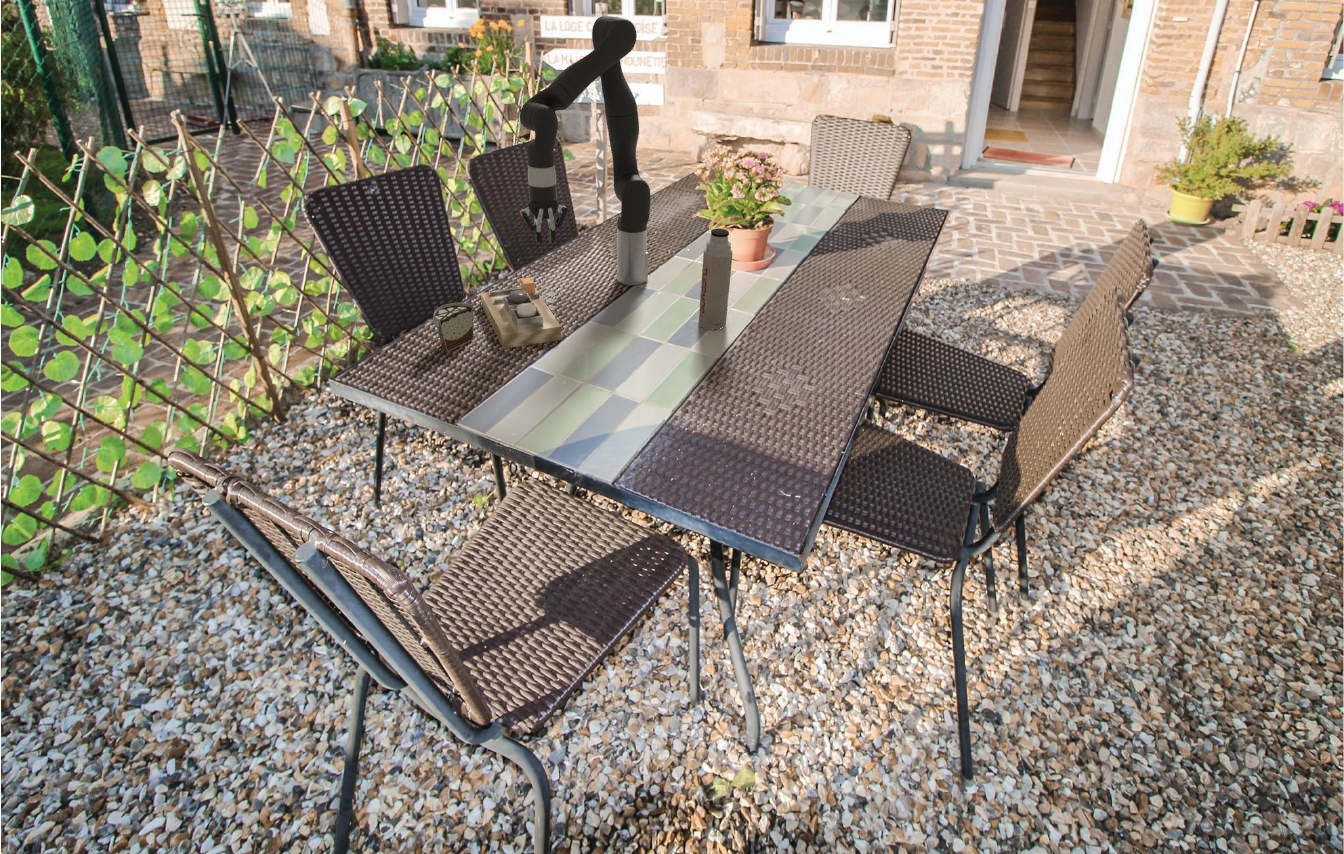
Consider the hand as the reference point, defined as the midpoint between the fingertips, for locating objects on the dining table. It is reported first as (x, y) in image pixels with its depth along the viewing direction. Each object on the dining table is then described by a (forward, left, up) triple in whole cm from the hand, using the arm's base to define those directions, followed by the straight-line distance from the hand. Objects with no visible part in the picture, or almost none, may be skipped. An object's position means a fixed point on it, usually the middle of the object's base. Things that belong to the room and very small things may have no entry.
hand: (545, 242), depth 211 cm
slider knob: (+6, 0, -15) cm, 16 cm away
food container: (+31, +15, -19) cm, 39 cm away
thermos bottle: (-41, +28, -19) cm, 53 cm away
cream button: (+11, +18, -12) cm, 24 cm away
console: (+11, +9, -19) cm, 24 cm away
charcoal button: (+11, +9, -12) cm, 19 cm away
